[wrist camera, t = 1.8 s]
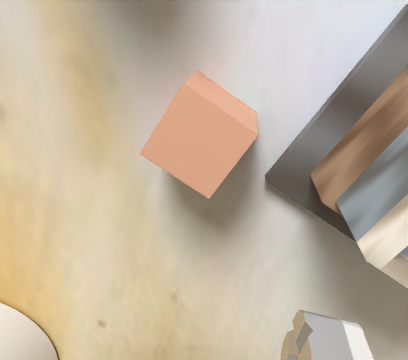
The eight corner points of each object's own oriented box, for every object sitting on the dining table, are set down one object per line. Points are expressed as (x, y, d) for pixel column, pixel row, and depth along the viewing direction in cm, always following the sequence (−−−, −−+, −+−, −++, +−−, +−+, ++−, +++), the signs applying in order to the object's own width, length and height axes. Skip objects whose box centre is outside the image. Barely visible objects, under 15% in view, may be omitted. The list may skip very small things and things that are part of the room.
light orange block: (216, 164, 27) (209, 199, 22) (161, 127, 27) (139, 154, 21) (255, 111, 25) (258, 134, 20) (197, 70, 25) (184, 82, 19)
